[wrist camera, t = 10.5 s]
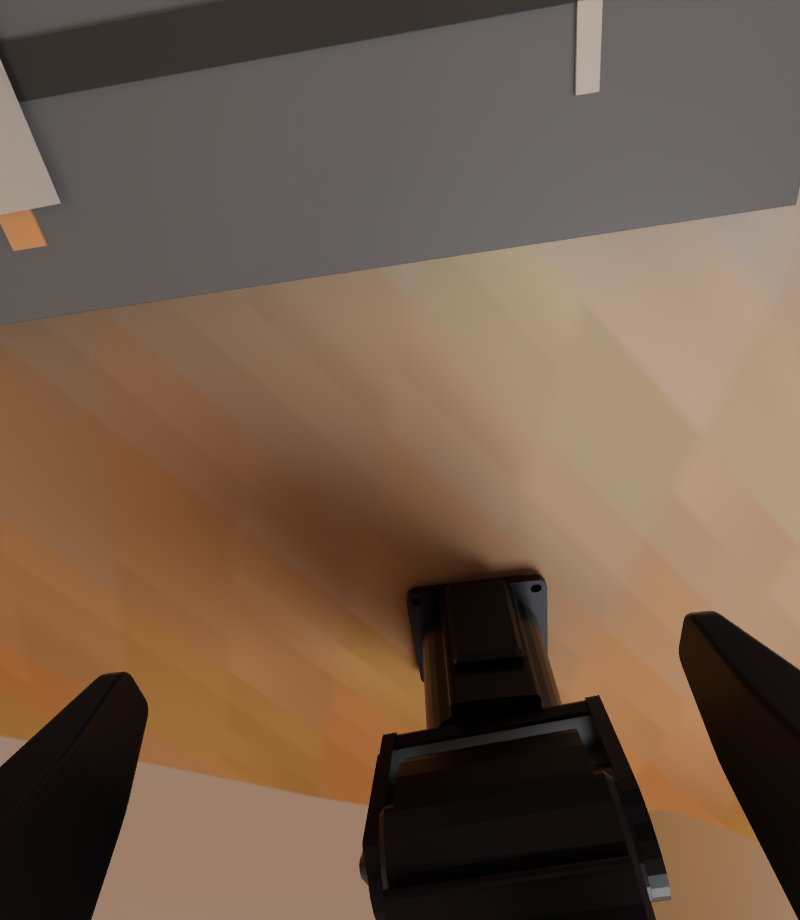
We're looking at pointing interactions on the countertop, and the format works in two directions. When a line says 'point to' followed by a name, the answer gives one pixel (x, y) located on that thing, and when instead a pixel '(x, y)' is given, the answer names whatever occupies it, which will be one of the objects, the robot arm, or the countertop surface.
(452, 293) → the countertop surface
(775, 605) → the countertop surface
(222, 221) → the fader console
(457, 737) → the robot arm
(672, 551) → the countertop surface
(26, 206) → the fader tab
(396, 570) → the countertop surface
